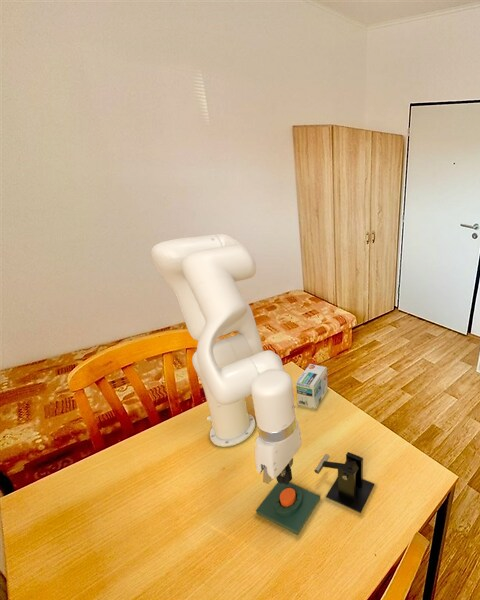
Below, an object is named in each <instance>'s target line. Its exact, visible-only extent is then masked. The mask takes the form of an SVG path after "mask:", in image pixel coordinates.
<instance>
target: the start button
mask: <svg viewBox="0 0 480 600" xmlns="http://www.w3.org/2000/svg"><path fill="white" fill-rule="evenodd" d="M295 500H296V494H295V490H294V489H292V488H287V489H285V490H283V491H282V492H281V494H280V503H281V505H282V506H284V507H289V506H291V505H292V504H293V503H294V502H295Z"/></svg>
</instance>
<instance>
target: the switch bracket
mask: <svg viewBox="0 0 480 600" xmlns="http://www.w3.org/2000/svg"><path fill="white" fill-rule="evenodd" d="M347 460H351V461H356V463H357V465H358V468H359V469H358V470H357V472H356V471H354V470H351V469H349V468H347V467H344V466H342V465H339V467H338V469H337V477H336V479H335V481H334V482H333V483H332V486H331V487H330V489H329V490H328V493H327V494H326V496H325V498H327V499H329V500H331V501H333V502H335V503H337V504H340V505H342V506H344V507H347V508H348V509H351V510H353V511H355V512H357V513H359V514H362V512H363V510H364V508H365V506H366V503H367V501H368V499H369V497H370V495H371V493H372V492H373V489H374V487H375V483H373V482H371V481H368V480H366V479H364V457H362V456H359V455H357V454H354V453H353V452H349V451H347V452H346V454H345V462H346V461H347Z"/></svg>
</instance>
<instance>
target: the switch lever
mask: <svg viewBox="0 0 480 600" xmlns="http://www.w3.org/2000/svg"><path fill="white" fill-rule="evenodd" d="M330 457H331V456H330V454H328V453H325V454H324V456H323V457H322V459H321V460H320V461H319V462H318V464H317V465H316V467H315V469H314V471H313V472H314V473H315V474H317V475H319V474H320V473H321V472H322V470H323V468H328V469H335V470H338V467H339V465H342V466H344V467H347V468H349V469H351V470H354V471H356V472H357V470H358V469H359V468H358V465H357V463H356V461H351V460H347V461H346V460H345V462H343V463H342V462H335V461H329V460H330Z"/></svg>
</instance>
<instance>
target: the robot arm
mask: <svg viewBox="0 0 480 600" xmlns="http://www.w3.org/2000/svg"><path fill="white" fill-rule="evenodd" d="M150 257H151V260H152V263H153V265H154V268H155V269H156V271H157V273H158V274H159V276H160V277H161V278H162V279H163V280H164V282H165V283H166V284H167V285H168V286H169V287H170V288H171V290H172V292H173V293H174V295H175V296H176V300H177V303H178V306H179V309H180V311H181V315H182V317H183V320H184V324H185V326H186V328H187V331H188V333H189V335H190V337H191V338H192V339H193V340H195V341H197V346H196V351H195V352H194V353H193V355H192V358H191V362H192V366H193V368H194V371H195V373H196V375H197V377H198V378H199V380H200V384H201V386H202V388H203V392H204V395H205V399H206V403H207V406H208V410H209V414H210V415H208V416H207V417H206V420H207V421H208V422H211V425H212V427H211V429H210V430H209V438H210V441H211V442H212V443H213V445H215V446H218V447H225V448H227V447H232V446H233V447H234V446H236V445H238V444H241V443H242V442H244V441H245V440H247V439H248V438H249V437H250V436H251V435H252V434H253V433H254V431H255V428H256V427H257V435H258V436H257V437H256V439H255V444H254V463H255V470H256V472H257V473H258V474H261V473H262V472H263V476H262V482H263V483H265V484H267V485H270V483H271V482H272V481H274V479H276V483H280V484H283V483H284V484H286V485H288V484H289V482H291V481H292V480H293V473H292V472H293V471H292V467H293V464H294V457H295V456H296V454H297V453H298V452H299V450H300V449H301V447H302V443H303V442H302V441H303V440H302V439H303V437H302V431H301V426H300V423H299V421H298V419H297V416H296V405H295V394H294V383H293V378H292V377H291V375H290V374H289V373H288V372H287V371H286V370H285V368H284V365H283V364H284V363H283V361H282V359H281V357H280V355H279V354H278V353H275V351H273V350H270V349H268V350H264V347H263V343H262V339H261V336H260V333H259V330H258V326H257V324H256V320H255V316H254V313H253V310H252V308H251V306H250V304H249V302H248V301H247V300H246V299H245V298H244V297H243V295H242V293H241V291H240V289H239V287H238V284H237V282H241V281H244V280H248V279H252V278H253V277H254V276H255V275H256V272H257V265H256V261H255V259H254V256H253V254H252V253H251V251H250V250H249V249H248V248H247V246H245V244H243V243H242V242H240V241H239V240H237V239H235V238H234V237H232V236H230V235H229V234H226V233H214V234H213V233H212V234H207V235H198V236H188V237H180V238H174V239H168V240H164V241H161V242H158V243H157V244H155V245H153V247H152V248H151V250H150ZM233 332H237V333H238V334H235V335H232V336H229V337H227V338H226V337H225V338H223V339H219V337H221V336H224V335H228V334H231V333H233ZM217 339H219V340H217ZM249 396H251V399H252V404H253V409H254V416H255V417H254V416H253V415H252V414H251V413H249V411H248V405H247V402H246V398H248V397H249Z"/></svg>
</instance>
